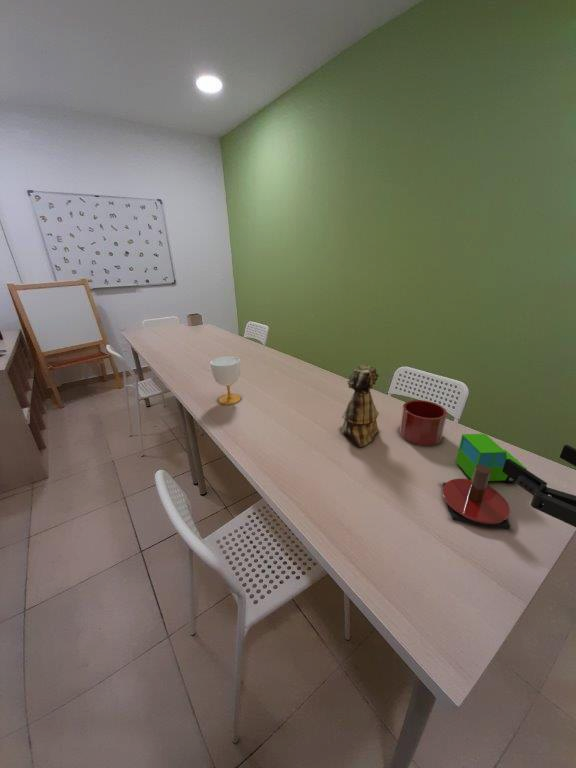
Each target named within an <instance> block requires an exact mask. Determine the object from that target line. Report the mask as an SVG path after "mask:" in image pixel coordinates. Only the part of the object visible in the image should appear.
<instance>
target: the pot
mask: <svg viewBox="0 0 576 768" xmlns="http://www.w3.org/2000/svg"><path fill="white" fill-rule="evenodd" d="M447 416H448V412H447V409H446V408H444V407H443V406H442V405H441V404H438V403H436V402H432V401H429V400H420V399H415V400H414V399H413V400H408V401H406V402H405V403H403V405H402V410H401V416H400V424H399V434H400V436H401V437H402V438H403V439H404V440H405V441H406V442H408V443H411V444H413V445H416V446H423V447H433V446H437V445H438V444H440V443H441V442H442V439H443V436H444V430H445V425H446V422H447V421H446V420H447Z"/></svg>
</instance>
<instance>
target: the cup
mask: <svg viewBox="0 0 576 768" xmlns="http://www.w3.org/2000/svg"><path fill="white" fill-rule="evenodd" d="M209 363H210V368H211V373H212V376H213V379H214V381H215V382H216V384H218V385H220V386H223V387H226V390H227V394H225V395H223V396H220V397H219V398H218V402H219V403H220V404H222V405H234V404H236V403H238V402H239V401H241V396H240V395H238V394H232V393H231V386H233V385H235V384H237V382H238V381H239V379H240V377H241V359H240V358H239V357H236V356H220V357H216V358H214V359H212V360H210V362H209Z"/></svg>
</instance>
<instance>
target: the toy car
mask: <svg viewBox="0 0 576 768" xmlns="http://www.w3.org/2000/svg"><path fill="white" fill-rule="evenodd" d="M506 459H511V460H512V461H514V462H515V463H517V464H519V465H520V466H522V467H523V468H525V469H526V470H528V469H527V467H526V466H525V465H523V463H521V462H520V461H519V460H518V459H517V458H516V457H514V456H513V455H512V454H511V453H510V452H509V451H508V450H507V449H503V448H502V447H501V446H500V445H498V443H497V442H496V441H494V440H493V439H492V438H491V437H490V436H489V435H487V434H486V433H464V434H461V438H460V443H459V446H458V450H457V454H456V459H455V462H456V463H457V465H459V467H460V468H461V470H462V471H463V472H464V473H465V474H466V475H467V477H468V478H469V480H472V478H473V474H474V471H475V467H476V465H484V466H487V467H489V468H490V469H491V475H490V478H489V481H488V482H497V481H499V482H500V481H502V482H503V481H505V482H506V484H513V483H515V482H516V481H515V480H513V479H512V478H510V477H509V476H508V475H506V474H505V473H503V472H502V470H503V467H504V464H505V461H506Z"/></svg>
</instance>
